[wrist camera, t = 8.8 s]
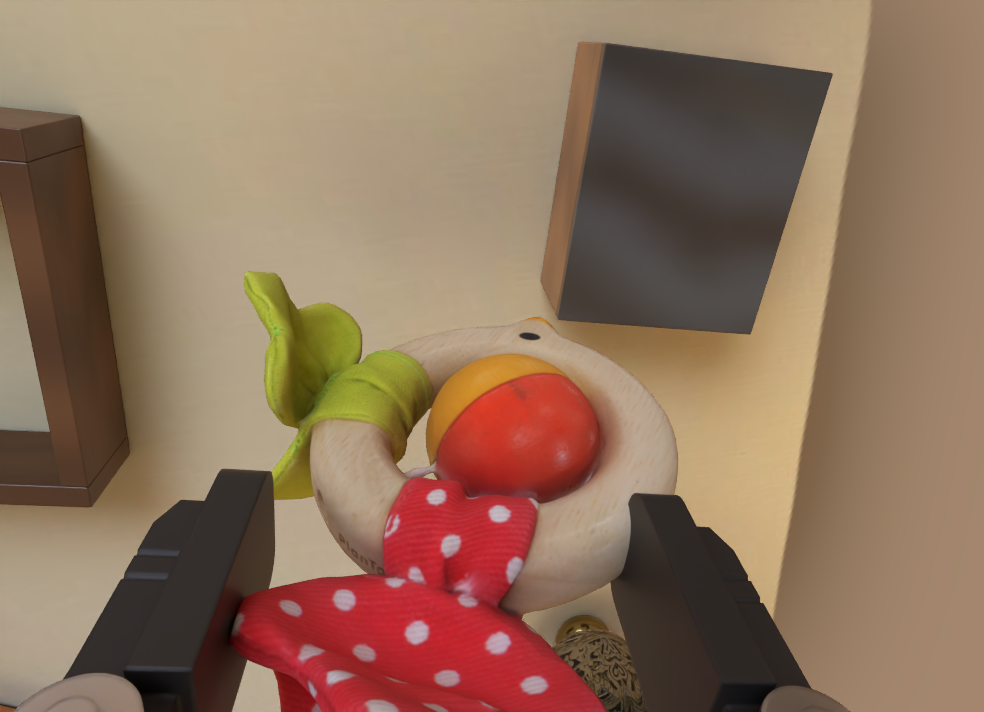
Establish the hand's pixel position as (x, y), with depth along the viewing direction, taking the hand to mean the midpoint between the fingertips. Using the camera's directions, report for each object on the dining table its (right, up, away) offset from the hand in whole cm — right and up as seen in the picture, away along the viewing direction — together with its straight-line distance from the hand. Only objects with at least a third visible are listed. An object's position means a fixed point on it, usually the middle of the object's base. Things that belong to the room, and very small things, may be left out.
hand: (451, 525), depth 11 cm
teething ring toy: (-1, +3, +6) cm, 7 cm away
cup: (+7, -16, +34) cm, 38 cm away
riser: (+8, +11, +20) cm, 25 cm away
